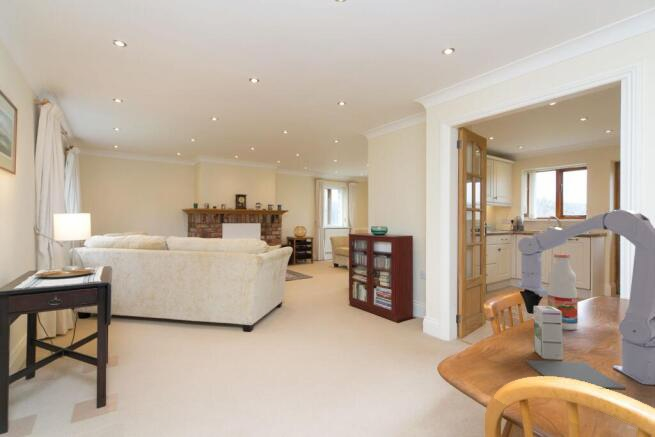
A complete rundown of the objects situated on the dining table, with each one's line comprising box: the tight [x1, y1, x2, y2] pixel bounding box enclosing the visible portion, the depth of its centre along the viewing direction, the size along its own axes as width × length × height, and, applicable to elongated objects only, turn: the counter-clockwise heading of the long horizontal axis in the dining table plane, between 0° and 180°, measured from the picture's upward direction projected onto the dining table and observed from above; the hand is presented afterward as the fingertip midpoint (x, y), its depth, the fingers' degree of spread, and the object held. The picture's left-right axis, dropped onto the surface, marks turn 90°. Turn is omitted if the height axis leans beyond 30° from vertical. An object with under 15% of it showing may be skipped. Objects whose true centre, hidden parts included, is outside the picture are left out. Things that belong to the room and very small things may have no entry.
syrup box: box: [533, 305, 564, 361], centre depth 97 cm, size 6×6×14 cm
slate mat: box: [525, 359, 626, 390], centre depth 85 cm, size 14×16×1 cm
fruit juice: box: [547, 253, 579, 331], centre depth 124 cm, size 9×9×28 cm
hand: (531, 313), depth 107 cm, fingers closed
